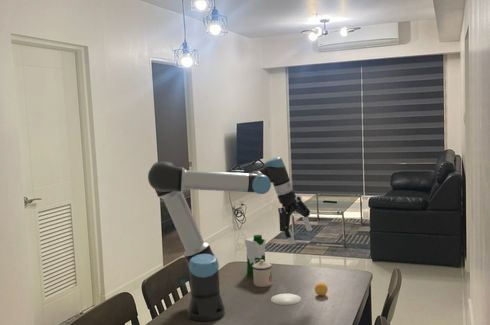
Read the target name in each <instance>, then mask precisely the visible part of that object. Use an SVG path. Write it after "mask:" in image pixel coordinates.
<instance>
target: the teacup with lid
mask: <svg viewBox="0 0 490 325" xmlns="http://www.w3.org/2000/svg"><path fill="white" fill-rule="evenodd" d="M272 268H273V265H272V264H271V263H270V262H267V261H265V262H264V260H260V262H258V263H256V264H254V265H253V276H252V277H253V285H254V286H256V287H258V288H259V287H260V288H264V287H269V286H271V285H272V284H273V277H272V276H273V275H272Z"/></svg>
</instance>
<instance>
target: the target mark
mask: <svg viewBox="0 0 490 325" xmlns="http://www.w3.org/2000/svg"><path fill="white" fill-rule="evenodd" d="M270 301H271V303H273V304H275V305H279V306H292V305H296V304H298V303H300V302H301V301H302V297H301V296H300V295H299V294H298V295H297V294H294V293H280V294H276V295H273V296H272V297H271V298H270Z"/></svg>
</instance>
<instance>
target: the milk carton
mask: <svg viewBox="0 0 490 325" xmlns="http://www.w3.org/2000/svg"><path fill="white" fill-rule="evenodd" d="M266 240H267V239H266V238H263V236H262V234H256V235H255V234H254V235H253V237H249V238H246V239H244V243H245V247H246V266H247V267H246V275H248V276H251V277H253V265H254V264H256V263H258V262H260V260H264V262H266V249H265V248H266V242H267V241H266Z"/></svg>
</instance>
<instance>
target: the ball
mask: <svg viewBox="0 0 490 325" xmlns="http://www.w3.org/2000/svg"><path fill="white" fill-rule="evenodd" d="M314 292H315V294H317V295H318V296H320V297H321V296H322V297H323V296H325V295H326V294H327V293H328V286H327V284H326V283H323V282H319V283H317V284H316V285H315V287H314Z"/></svg>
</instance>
